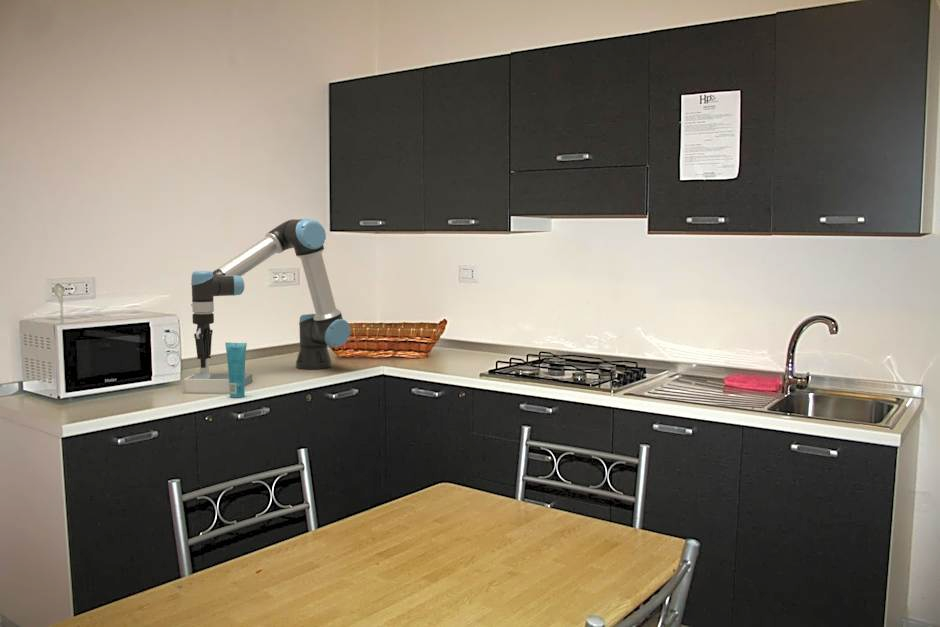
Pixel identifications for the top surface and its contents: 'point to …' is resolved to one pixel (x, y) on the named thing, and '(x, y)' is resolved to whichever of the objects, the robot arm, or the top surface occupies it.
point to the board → (226, 376)
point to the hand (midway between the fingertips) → (204, 375)
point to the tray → (205, 385)
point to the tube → (236, 368)
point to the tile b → (202, 376)
